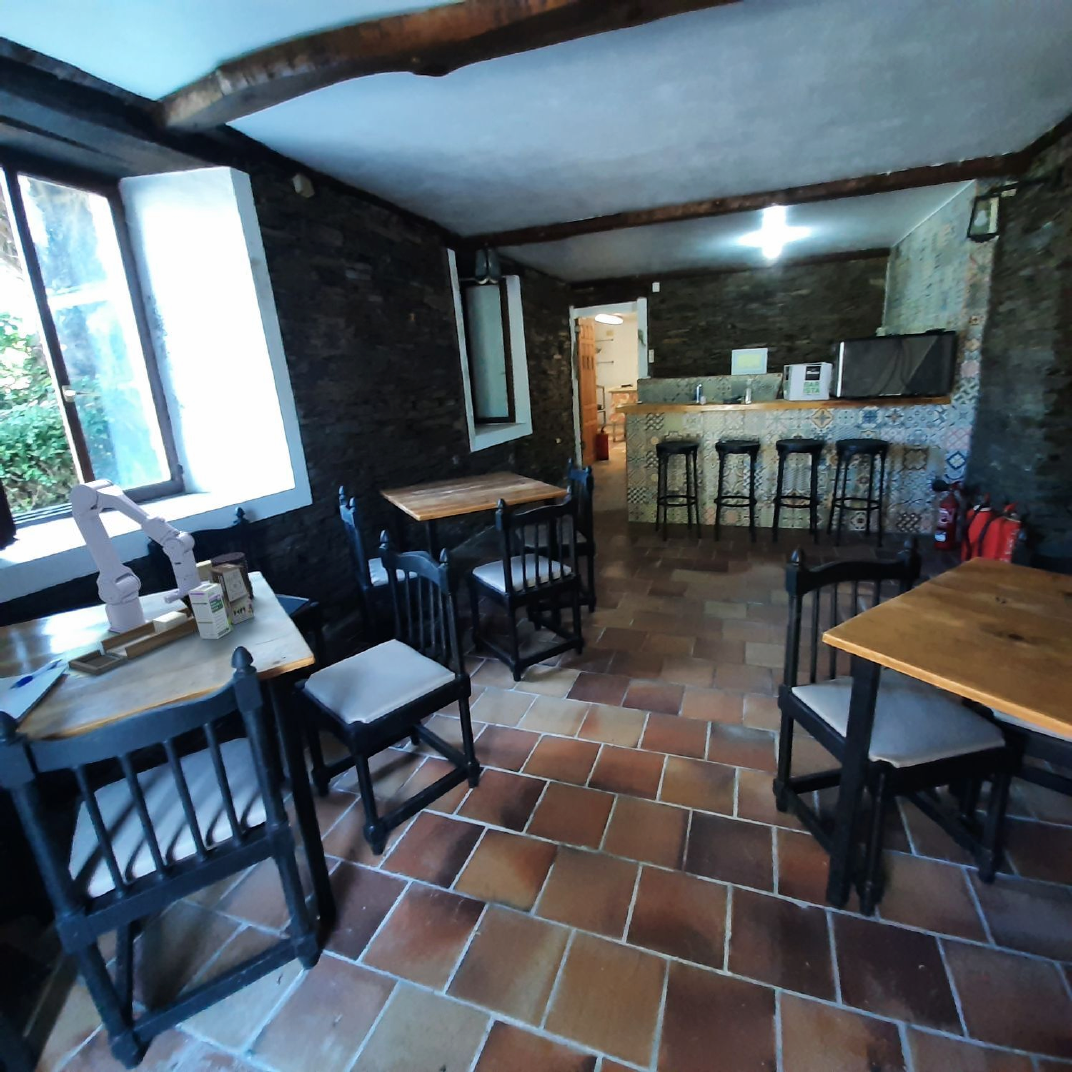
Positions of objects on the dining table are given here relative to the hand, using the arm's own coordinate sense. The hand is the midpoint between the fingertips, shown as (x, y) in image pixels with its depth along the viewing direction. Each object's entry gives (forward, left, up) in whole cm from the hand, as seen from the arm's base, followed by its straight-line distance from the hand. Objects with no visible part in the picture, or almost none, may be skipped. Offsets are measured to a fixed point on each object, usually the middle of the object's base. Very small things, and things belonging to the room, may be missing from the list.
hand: (197, 616), depth 165 cm
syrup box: (+15, -5, -2) cm, 16 cm away
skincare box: (-15, +14, -2) cm, 21 cm away
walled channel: (0, -11, -1) cm, 11 cm away
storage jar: (-3, +15, -2) cm, 16 cm away
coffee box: (+10, +5, -2) cm, 11 cm away
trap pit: (0, -27, -1) cm, 27 cm away
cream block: (0, -8, -1) cm, 8 cm away
